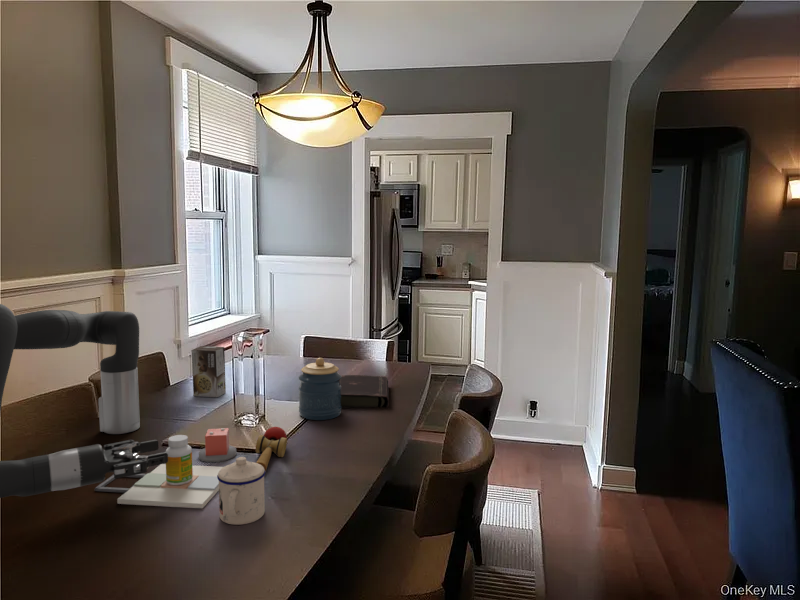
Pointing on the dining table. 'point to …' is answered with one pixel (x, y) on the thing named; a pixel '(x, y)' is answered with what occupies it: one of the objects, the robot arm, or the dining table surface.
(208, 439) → the red die
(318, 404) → the canister
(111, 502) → the dining table surface
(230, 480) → the teacup with lid
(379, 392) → the diary
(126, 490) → the game board
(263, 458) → the kendama
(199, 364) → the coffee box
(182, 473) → the supplement bottle
